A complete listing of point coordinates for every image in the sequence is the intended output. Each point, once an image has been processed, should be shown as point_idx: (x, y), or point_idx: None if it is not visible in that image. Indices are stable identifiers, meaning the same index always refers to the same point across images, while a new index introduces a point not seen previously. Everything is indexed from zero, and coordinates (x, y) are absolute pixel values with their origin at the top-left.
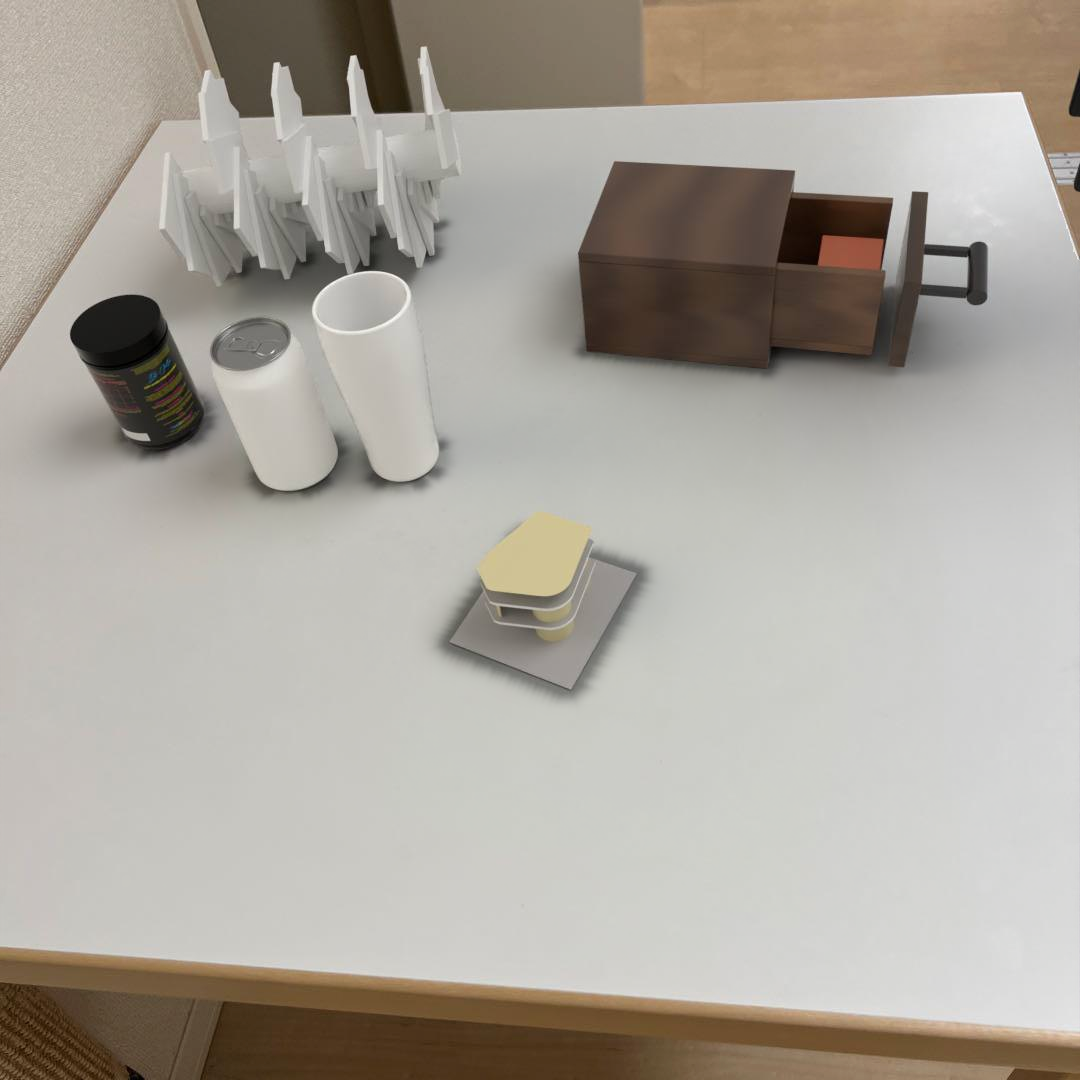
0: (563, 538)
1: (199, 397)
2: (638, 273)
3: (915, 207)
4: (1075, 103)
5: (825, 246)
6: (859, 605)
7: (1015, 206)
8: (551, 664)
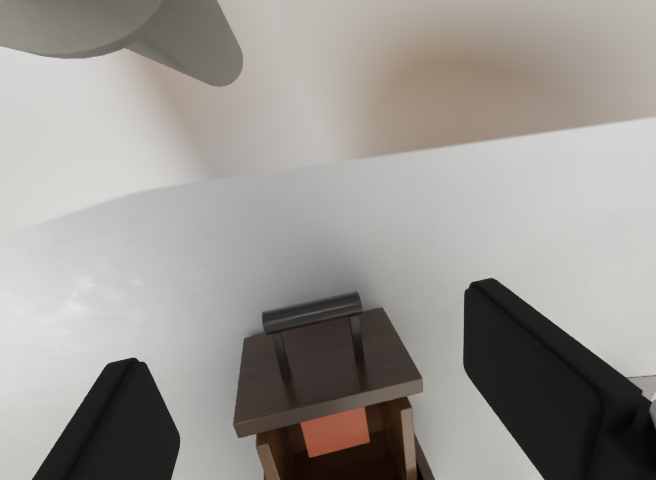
0: None
1: None
2: None
3: (274, 425)
4: (171, 471)
5: (328, 449)
6: (611, 262)
7: (36, 272)
8: (648, 389)
